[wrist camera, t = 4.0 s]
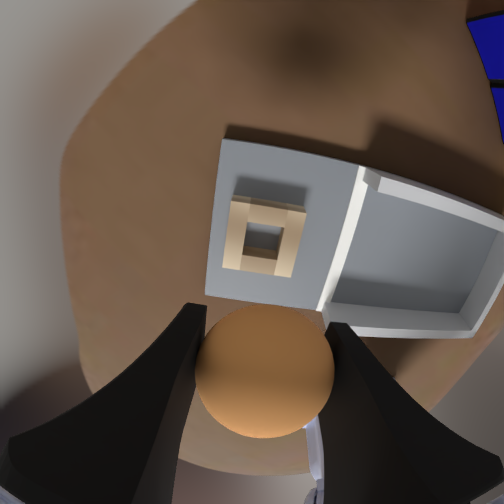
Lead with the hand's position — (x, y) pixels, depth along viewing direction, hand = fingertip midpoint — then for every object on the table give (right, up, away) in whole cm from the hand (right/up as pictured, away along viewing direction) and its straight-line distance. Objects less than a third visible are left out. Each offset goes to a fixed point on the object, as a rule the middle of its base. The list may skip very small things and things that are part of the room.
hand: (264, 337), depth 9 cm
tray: (+8, +3, +9) cm, 12 cm away
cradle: (0, +4, +8) cm, 9 cm away
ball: (0, -1, -1) cm, 2 cm away
